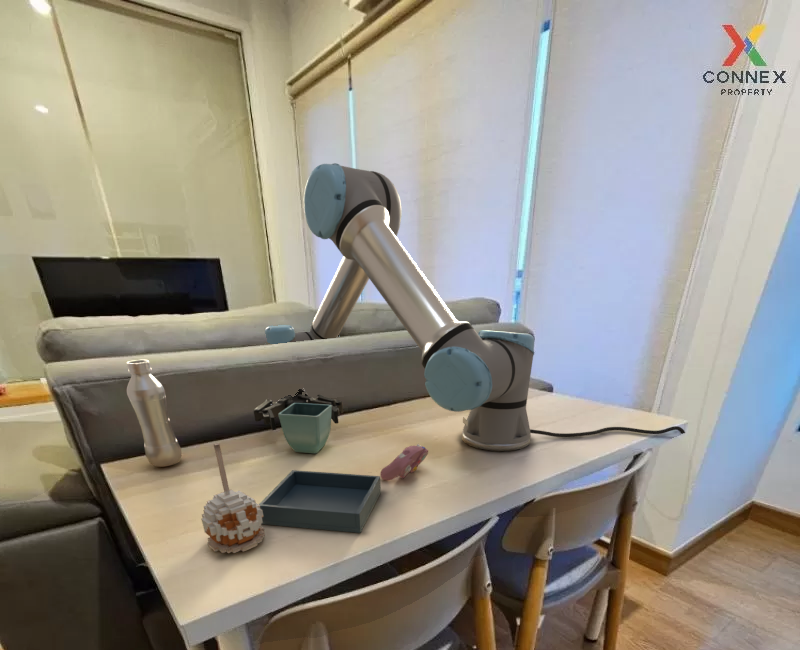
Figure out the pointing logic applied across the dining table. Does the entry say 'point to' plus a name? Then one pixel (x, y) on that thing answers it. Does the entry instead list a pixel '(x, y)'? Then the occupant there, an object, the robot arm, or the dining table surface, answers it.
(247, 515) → the decorative ornament
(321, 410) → the flower pot
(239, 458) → the dining table surface
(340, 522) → the tray
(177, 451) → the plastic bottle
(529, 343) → the robot arm
